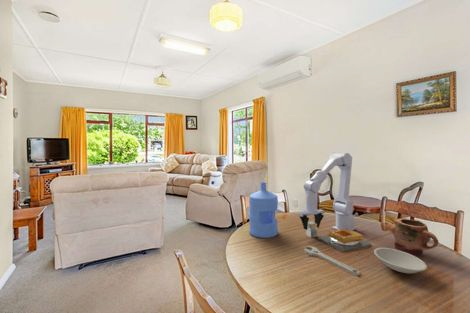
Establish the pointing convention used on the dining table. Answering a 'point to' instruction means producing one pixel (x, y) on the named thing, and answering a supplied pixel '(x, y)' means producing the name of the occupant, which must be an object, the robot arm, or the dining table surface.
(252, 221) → the water jug
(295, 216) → the dining table surface
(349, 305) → the dining table surface
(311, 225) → the rectangular block
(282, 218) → the dining table surface
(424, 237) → the brown ceramic rounded pot
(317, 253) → the adjustable wrench
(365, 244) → the bracket rosette
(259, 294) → the dining table surface
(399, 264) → the dish
